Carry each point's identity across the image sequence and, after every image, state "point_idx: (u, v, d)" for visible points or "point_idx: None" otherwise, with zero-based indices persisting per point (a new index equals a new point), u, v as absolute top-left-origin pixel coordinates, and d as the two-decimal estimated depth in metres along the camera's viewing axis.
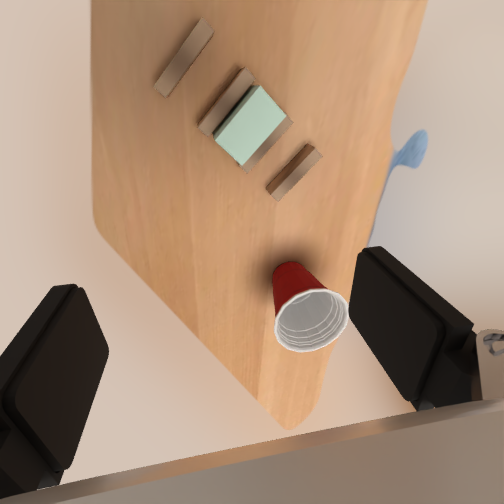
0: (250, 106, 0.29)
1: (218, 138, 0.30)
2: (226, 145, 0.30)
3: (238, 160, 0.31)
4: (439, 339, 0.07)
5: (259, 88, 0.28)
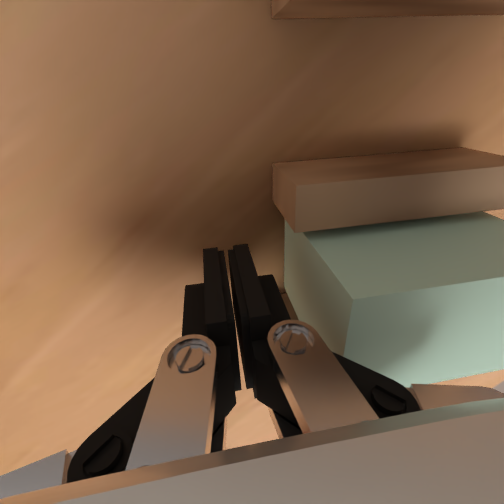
0: None
1: (369, 301, 0.07)
2: (364, 335, 0.07)
3: None
4: (246, 329, 0.07)
5: None
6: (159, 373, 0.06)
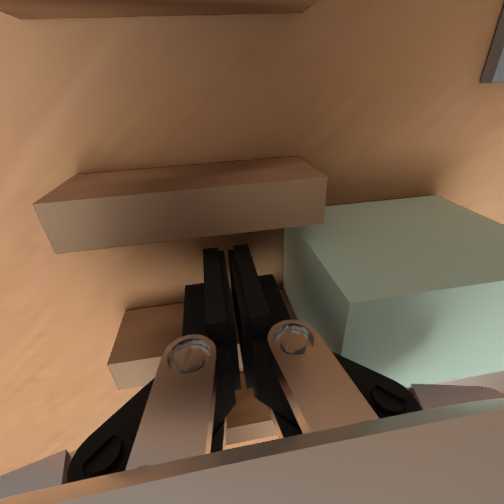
0: None
1: (365, 305, 0.07)
2: (361, 337, 0.07)
3: None
4: (246, 329, 0.07)
5: None
6: (159, 373, 0.06)
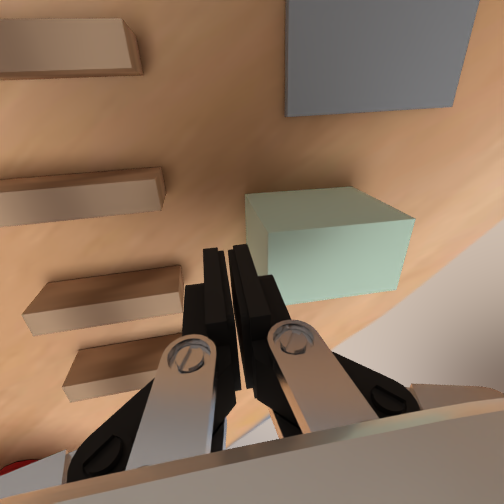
0: (373, 234, 0.13)
1: (277, 235, 0.12)
2: (278, 258, 0.13)
3: None
4: (246, 329, 0.07)
5: (410, 221, 0.13)
6: (159, 373, 0.06)
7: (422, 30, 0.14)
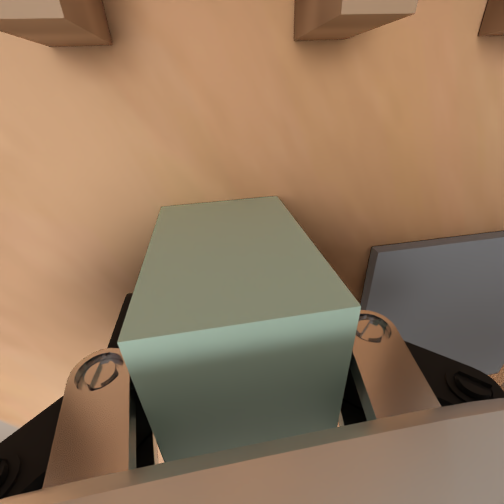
0: None
1: (349, 325, 0.05)
2: (288, 338, 0.05)
3: (167, 343, 0.04)
4: None
5: None
6: (66, 398, 0.05)
7: None
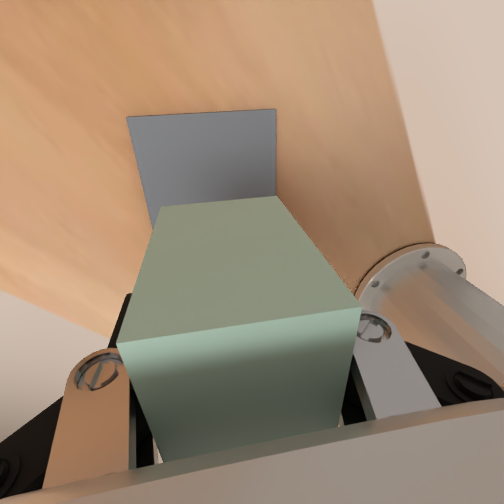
0: None
1: (350, 326, 0.05)
2: (288, 339, 0.05)
3: (166, 344, 0.04)
4: None
5: None
6: (66, 398, 0.05)
7: None
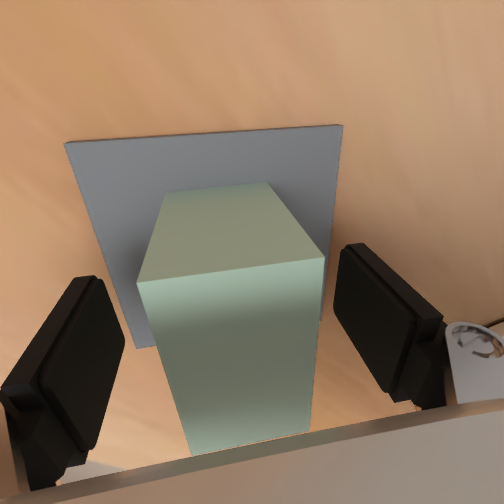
0: (294, 399, 0.09)
1: (317, 273, 0.06)
2: (268, 283, 0.06)
3: (174, 284, 0.06)
4: (411, 331, 0.07)
5: (305, 427, 0.10)
6: None
7: None
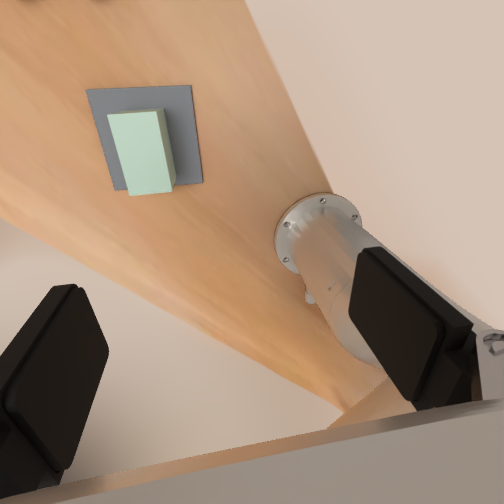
0: (161, 171, 0.26)
1: (155, 117, 0.24)
2: (142, 119, 0.24)
3: (116, 116, 0.23)
4: (439, 339, 0.07)
5: (170, 189, 0.27)
6: None
7: None
